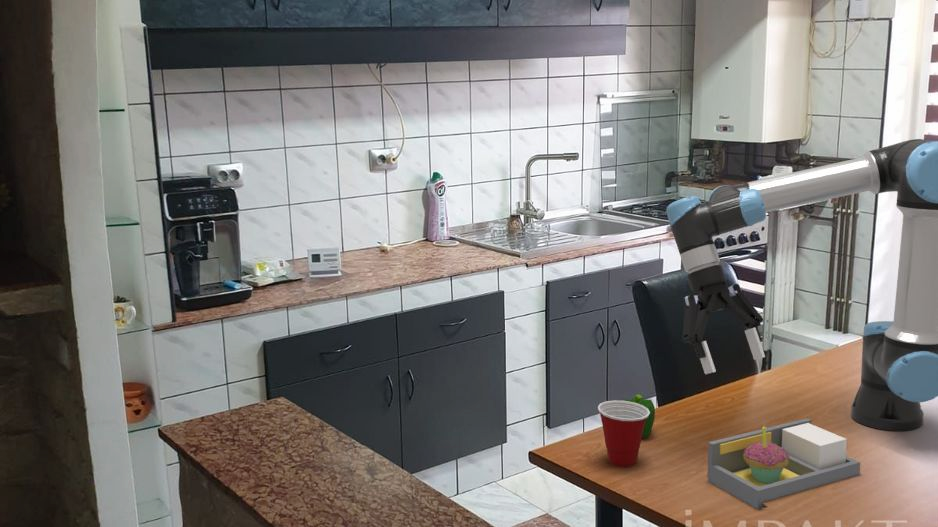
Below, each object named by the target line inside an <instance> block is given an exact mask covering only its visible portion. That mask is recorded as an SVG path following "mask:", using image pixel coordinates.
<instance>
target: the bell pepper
mask: <svg viewBox="0 0 938 527" xmlns="http://www.w3.org/2000/svg"><path fill="white" fill-rule="evenodd" d="M620 401H628V402H634V403H637V404H640V405H643V406H644V407H646V408H648V409H649V411H650V414H649V416H648V417H647V419H646V421H645V425H644V428H643V433H642V439H645V438H648V436H649V435H650V433H651V432H652V430H653V427H654V423H655V418H656V415H655V412H656V409H655V408H656V407H655V405H654V403H653V402H654V401H653V400H652V399H644V398H643V396H642V395H640V394H636V395H635V396H634V397H631V399H629V398H628V399H627V398H622V399H620Z"/></svg>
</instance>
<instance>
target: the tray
mask: <svg viewBox="0 0 938 527" xmlns="http://www.w3.org/2000/svg"><path fill="white" fill-rule="evenodd" d="M806 423H810V424H812V419H809V418H808V417H806V418H803V419H798V420H795V421H791V422H787V423H786V422H785V423H782V424H778V425H777V424H776V425H774V426H770V427H766V442H767V441H768V442H772V443H774V444H776V445H778V446H780V447H782V429H785V428H789V427H793V426H797V425H801V424H806ZM757 442H763V434H762V429H759V430H758V429H757V430H752V431H750V432H746V433H745V432H744V433H741V434H737V435H733V436H729V437H724V438H720V439H717V440H713V441H708V443H707V444H708V448H707V482H708V483H710V484H713V485H714V486H716V487H718V488H720V489H721V490H722V491H725V492H726V493H728V494H730V495H731V496H733V497H735V498H737V499H738V500H740V501H742V502H744V503H746V504H747V505H749V506H751V507H752V508H754V509H756V510H760V509H764V508H768V506H767V505H766V504H763V503H765V502H769V501H773V500H777V499H779V498H782V497H787V496H790V495H794V494H797V493H800V492H803V491H807V490H811V489H814V488H817V487H820V486H824V485H827V484H831V483H834V482H839V481H841V480H845V479H849V478H852V477H857V476H859V475H860V474H861V461H858V460H856V459H853V458H851V457H849V456H847V455H846V463H843V464H840V465H836V466H833V467H829V468H825V469H822V470H820V469H818V468H815V467H813V466H811V465H809V464H807V463H805V462H803V461H801V460H799V459H796V458H794V457H792V456H790V455H788V456H789V463H788V465H787V466H786V467H784V469H783V470H782V472H781V475H780V477H779V480H778V481H777V482H775V483H770V484H768V483H761V482H758V481H756V480H755V479H754V478H753V475H752V472H751V469H750V466H749V465H748V464H747V463H746V462H745V460H744V457H743V455H744V451H745V450H744V449H746V448H747V447H748V446H749V445H752V444H754V443H757Z"/></svg>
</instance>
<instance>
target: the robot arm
mask: <svg viewBox="0 0 938 527" xmlns="http://www.w3.org/2000/svg"><path fill="white" fill-rule="evenodd" d="M865 192H869V193H872V194H874V195H879V194H883V193H892V192H897V195H896V208H897V209H898V210H899V211H900V212H901V213H902V214H903V217H902V226H901V227H902V228H901V239H900V249H899V250H900V251H899V261H898V269H897V270H898V271H897V279H896V280H897V281H896V293H895V300H894V302H895V303H894V310H893V311H894V313H893V320H891V321H890V320H889V321H888V320H884V321H883V320H882V321H881V320H880V321H871V322H868V323H866V324H865V325H864V328H863V334H862V335H861V336H862V337H861V338H862V348H861V349H862V350H861V351H862V352H861V372H860V373H861V374H860V386H859V387H858V390H857V392H856V395H855V397H854V400H853V402H852V404H851V407H850V408H851V409H850V416H851V418H852V420H854V421H855V422H857V423H859V424H861V425H864V426H865V427H869V428H873V429H876V430H877V429H878V430H883V431H892V432H893V431H894V432H895V431H896V432H899V431H900V432H901V431H902V432H903V431H904V432H905V431H910V430H911V431H912V430H916V429H919V428H921V427H922V426H923V424H924V411H923V409H922V408H921V407H922V406H921V403H924V402H929V401H932V400H934V399H936V398H937V397H938V140H929V139H922V138H915V139H909V140H908V139H907V140H904V141H901V142H898V143H894V144H891V145H888V146H884V147H879V148H877V149H872V150H867V151H865V152H864V154H863V155H862V156H861V157H858V158H857V157H856V158H852V159H849V160H844V161H840V162H835V163H830V164H826V165H821V166H816V167H812V168H807V169H802V170H798V171H793V172H789V173H785V174H780V175H776V176H771V177H767V178H761V179H758V180H757V179H756V180H752V181H748V182H745V183H743V182H742V183H739V184H735V185H727V184H725V185H724V184H723V185H719V186H717V187H715V188H714V189H713V190H712V191H711V193H709V196H708V199H707V201H706V202H702V201H701V200H700V197H699V196H694V195H692V196H688V197H684V198H680V199H678V200H675V201H673V202H671V203H670V204H669V205H668V206H667V207H666V211H665V212H666V215H667V218H668V219H667V220H668V222H669V225H670V230H671V233H672V236H673V238H674V241H675V244H676V246H677V250H678V252H679V256H680V259H681V262H682V266H683V268H684V271H685V272H686V273H688V274H687V277H686V278H687V282H688V284H689V286H690V287H689V288H690V290H691V291H692V292H694V294H689V295H687V296H685V297H683V298H682V302H683V307H684V312H683V314H684V315H683V328H682V342H683V343H684V344H687V343H688V345H690V346H693V349H694V352H695V355H696V358H697V360H700V363H701V366H702V370H703V373H704V374H705V375H708V374H712V373H715V372H717V371H716V367H715V364H714V360H713V358H712V355H711V352H710V349H709V346H708V343H707V340H703V337H704V335H705V331H706V328H707V324H708V320H709V317H710V316H711V314H712V313H715V312H719V311H725V312H727V313H728V314H730V315H731V317H732V318H734V319H735V320H736V321H737V322H739V323H740V324H741V325H742V326H744V327H745V328H746V330H744V333H745V338H746V340H747V342H748V346H749V349H750V352H751V354H752V358H753V360H754V361H755V360H759V359H763V358H766V355H765V352H764V348H763V346H762V343H761V342H762V337H761V334H760V331H759V328H758V327H760V326H761V323H763V322H764V318H763V316H762V315H761V314H760V312H759V311H758V310H757V309H756V308H755V306H754V305H753V304H752V303H751V302H750V300H749V299H748V298H747V297H746V295H745V294H744V293H743V291H742V289H741V286H740V285H739V283H734V284H733V285H730V286H727V284H726V282H727V278H726V275H725V272H724V269H723V266H722V265H721V264H720V262H721V259H720V257H719V253H718V251H717V248H716V245H715V242H714V239H713V238H714V237H717V236H718V237H719V236H720V235H723V234H727V233H731V232H733V231H738V230H741V229H744V228H747V227H753V225H756V224H759V223H761V222H764V221H765V220H766V218H767V214H766V213H771V212H774V211H778V210H783V209H788V208H792V207H799V206H803V205H807V204H813V203H816V202H822V201H826V200H827V201H828V200H831V199H835V198H841V197H846V196H851V195H856V194H860V193H865ZM697 304H698V305H699V306H698V309H697Z"/></svg>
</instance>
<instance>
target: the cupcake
mask: <svg viewBox="0 0 938 527" xmlns="http://www.w3.org/2000/svg"><path fill="white" fill-rule="evenodd" d="M766 428H767V427H766V426H765V423H763V426H762V434H763V442H757V443H754V444H752V445H749V446H748V447H747V448H746V449H744V450H745V451H744V455H743V457H744V460H745V462H746V463H747V464H748V465H749V466H750V469H751V472H752V475H753V478H754V479H755V480H756V481H758V482H761V483H768V484H770V483H775V482H777V481H778V480H779V477H780V475H781V472H782V470H783V469H784V467H786V466H787V465H788V463H789V456H788V453H787V452H786V451H785V449H783V448H782V447H780V446H778V445H776V444H774V443H772V442H768V441H767V442H766Z"/></svg>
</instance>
